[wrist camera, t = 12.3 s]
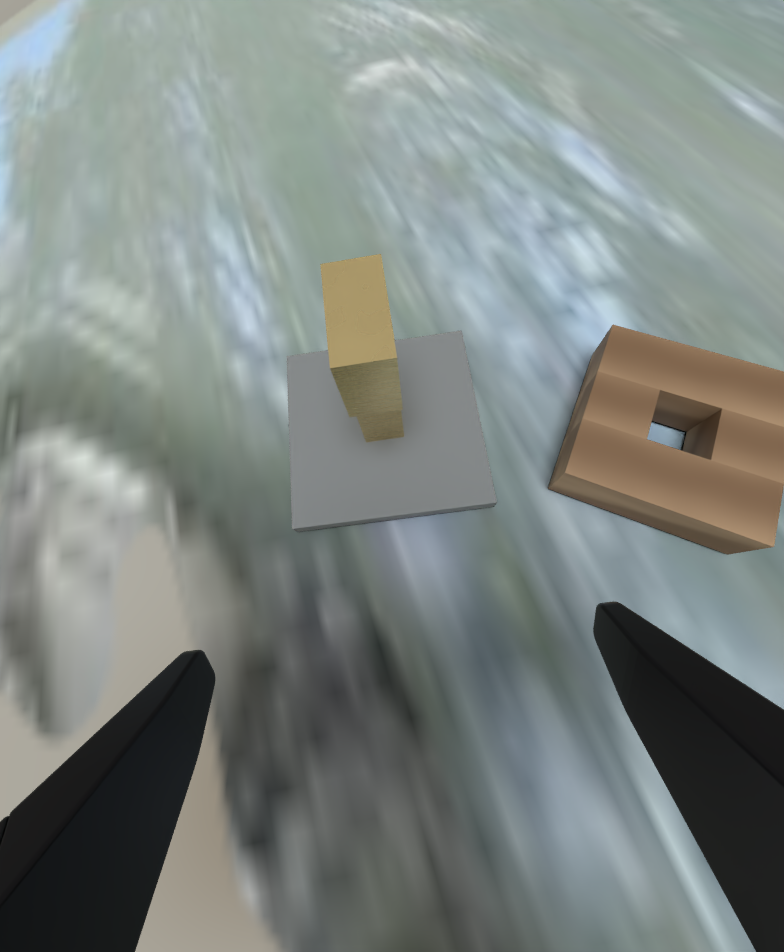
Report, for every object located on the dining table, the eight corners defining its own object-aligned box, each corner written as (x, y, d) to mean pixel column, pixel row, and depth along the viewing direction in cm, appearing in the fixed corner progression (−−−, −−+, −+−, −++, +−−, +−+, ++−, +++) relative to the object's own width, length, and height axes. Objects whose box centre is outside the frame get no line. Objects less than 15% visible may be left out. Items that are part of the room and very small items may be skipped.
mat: (494, 506, 23) (496, 502, 22) (297, 531, 24) (292, 528, 23) (460, 340, 27) (461, 330, 26) (291, 364, 28) (286, 356, 27)
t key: (408, 455, 24) (397, 357, 14) (367, 462, 24) (329, 368, 14) (397, 384, 25) (380, 253, 16) (359, 390, 25) (320, 264, 16)
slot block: (727, 554, 22) (773, 546, 19) (547, 488, 23) (564, 472, 21) (756, 403, 24) (800, 376, 21) (592, 355, 26) (612, 324, 23)
